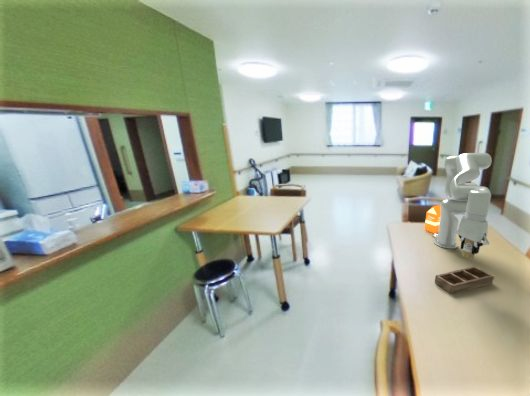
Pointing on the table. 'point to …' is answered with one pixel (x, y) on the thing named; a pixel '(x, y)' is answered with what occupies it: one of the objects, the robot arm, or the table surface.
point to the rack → (463, 279)
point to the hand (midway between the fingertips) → (469, 250)
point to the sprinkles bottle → (468, 249)
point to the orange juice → (433, 219)
